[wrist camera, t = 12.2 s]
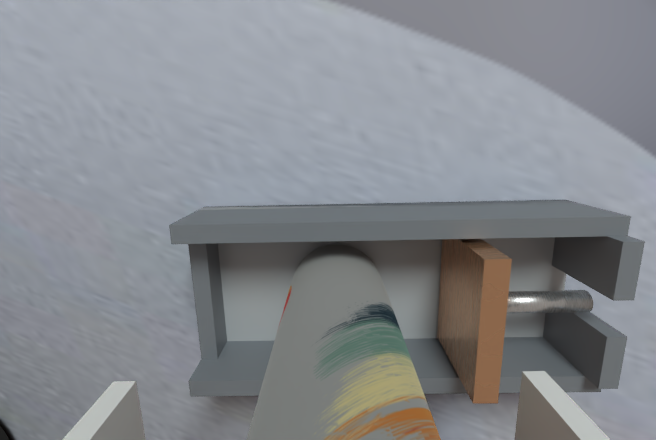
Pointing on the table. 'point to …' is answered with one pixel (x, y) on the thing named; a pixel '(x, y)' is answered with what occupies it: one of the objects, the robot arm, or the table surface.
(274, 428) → the lotion bottle
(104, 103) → the table surface
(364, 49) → the table surface
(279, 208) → the tray
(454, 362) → the pusher
